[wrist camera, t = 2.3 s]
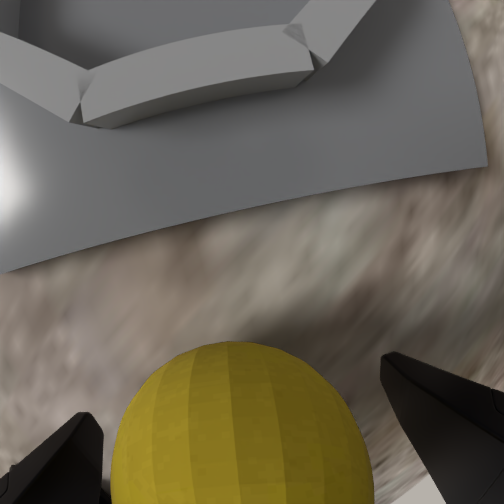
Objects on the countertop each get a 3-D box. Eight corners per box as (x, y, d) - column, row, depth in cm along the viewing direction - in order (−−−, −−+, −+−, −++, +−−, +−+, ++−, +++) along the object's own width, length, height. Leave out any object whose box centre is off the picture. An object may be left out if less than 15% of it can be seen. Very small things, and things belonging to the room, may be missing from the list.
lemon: (324, 287, 9) (503, 530, 1) (303, 419, 11) (367, 605, 3) (132, 289, 8) (4, 571, 1) (156, 423, 10) (135, 621, 2)
